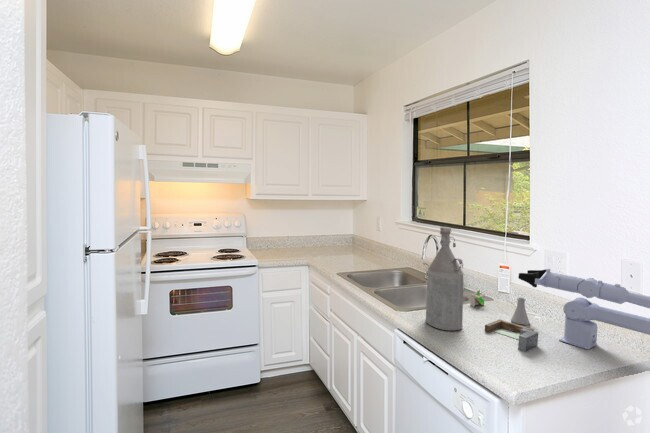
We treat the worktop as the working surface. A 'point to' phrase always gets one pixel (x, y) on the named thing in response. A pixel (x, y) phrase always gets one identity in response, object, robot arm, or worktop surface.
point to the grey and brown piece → (504, 326)
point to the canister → (445, 287)
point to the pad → (508, 334)
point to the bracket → (527, 340)
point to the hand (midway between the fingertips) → (523, 274)
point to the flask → (520, 313)
